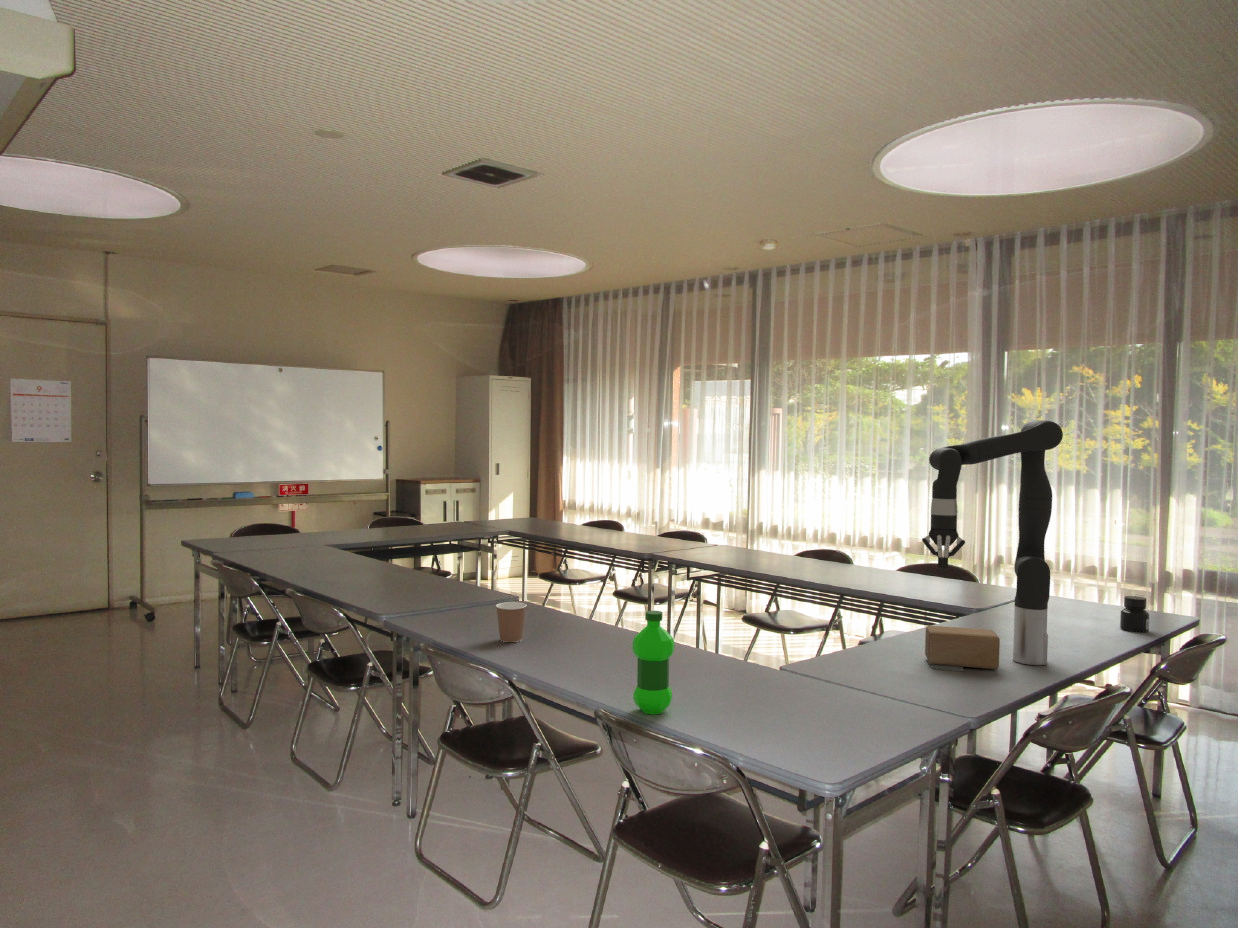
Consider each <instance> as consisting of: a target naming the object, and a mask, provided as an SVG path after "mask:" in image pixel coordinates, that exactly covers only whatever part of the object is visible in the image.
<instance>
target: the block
mask: <svg viewBox="0 0 1238 928" xmlns="http://www.w3.org/2000/svg"><path fill="white" fill-rule="evenodd" d="M1000 640H1001V639H1000V636H999V635H998V634H997V633H996V632H995V631H994V630H992V629H985V628H984V629H983V628H970V627H969V628H968V627H955V626H942V625H941V626H940V625H926V627H925V642H924V643H925V644H924V650H925V651H924V654H925V657H926V660H927V662H928V663H929V664H930V665H931V664H938V665H951V666H963V668H965V667H967V668H976V669H978V668H979V669H988V670H990V669H991V670H997V669H998V668H999V667H1000V644H1001V643H1000V642H1001V641H1000Z"/></svg>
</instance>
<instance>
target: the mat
mask: <svg viewBox="0 0 1238 928" xmlns="http://www.w3.org/2000/svg"><path fill="white" fill-rule="evenodd" d="M930 668H937V669H936V670H940V669H944V670H943V671H949V670H956V671H955V672H959V671H964V667H963V666H951V665H938V664H930Z"/></svg>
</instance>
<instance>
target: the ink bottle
mask: <svg viewBox="0 0 1238 928" xmlns="http://www.w3.org/2000/svg"><path fill="white" fill-rule="evenodd" d="M1123 599H1124V600H1123V601H1124V602H1123V604H1124V608H1123V609H1121V610H1120V621H1119V622H1120V623H1119V628H1120V629H1122V630H1123V631H1126V632H1132V633H1148V632H1149V631H1150V613H1149V612H1148V611H1147V610H1146V609H1147V598H1146V597H1143V596H1136V595H1125V596H1124V597H1123Z"/></svg>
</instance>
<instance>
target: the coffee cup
mask: <svg viewBox="0 0 1238 928" xmlns="http://www.w3.org/2000/svg"><path fill="white" fill-rule="evenodd" d="M527 606H528V605H527V603H524V602H519V601H505V602H499V603H497V604H495V607H496V613H497V623H498V632H499V639H500V642H502V641H503V642H502V643H504V642H517V643H520V642H521V641H522V639H523V634H524V626H525V625H524V624H525V617H526V607H527ZM519 641H520V642H519Z"/></svg>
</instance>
